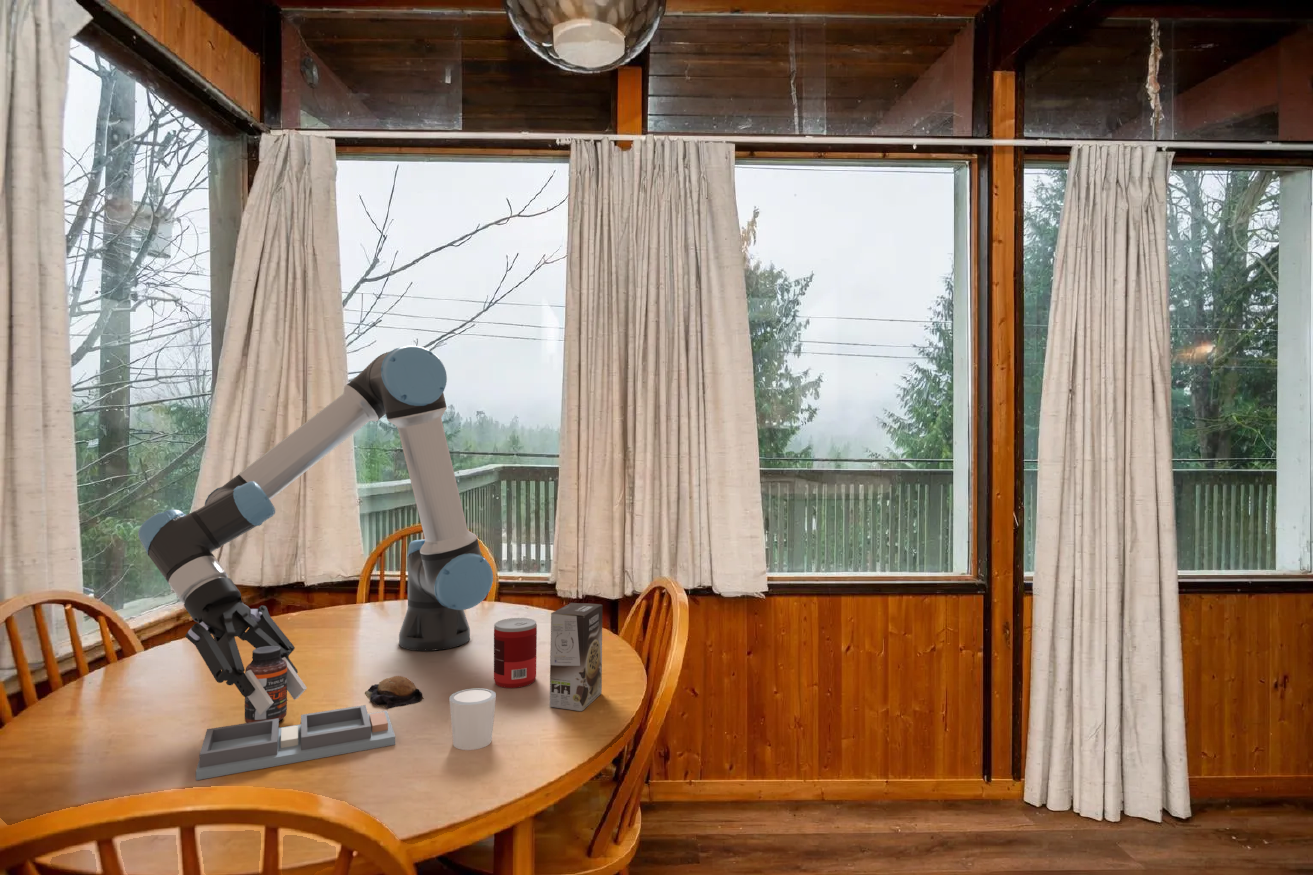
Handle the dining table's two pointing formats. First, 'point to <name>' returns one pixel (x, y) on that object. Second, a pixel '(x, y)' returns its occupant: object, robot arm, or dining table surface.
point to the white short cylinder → (472, 718)
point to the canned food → (515, 652)
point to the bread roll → (394, 692)
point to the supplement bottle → (269, 683)
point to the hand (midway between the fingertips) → (284, 700)
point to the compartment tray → (292, 740)
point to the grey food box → (576, 656)
